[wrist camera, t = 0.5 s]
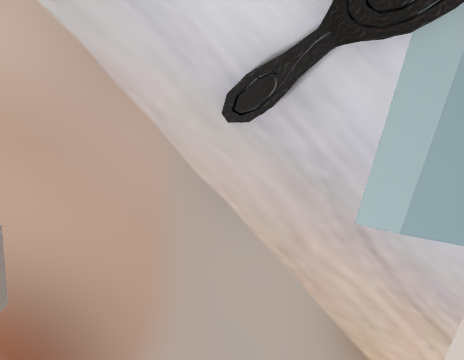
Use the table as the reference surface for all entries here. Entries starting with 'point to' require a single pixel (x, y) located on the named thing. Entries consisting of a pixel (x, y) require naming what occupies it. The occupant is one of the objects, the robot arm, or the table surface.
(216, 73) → the table surface
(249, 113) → the hairbrush
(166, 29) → the table surface
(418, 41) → the plate
